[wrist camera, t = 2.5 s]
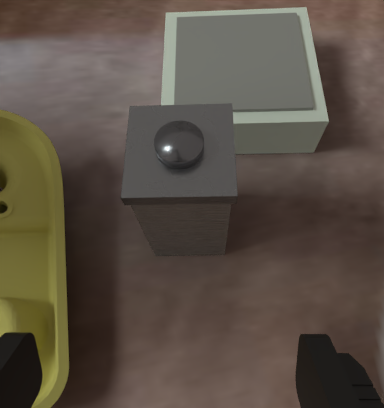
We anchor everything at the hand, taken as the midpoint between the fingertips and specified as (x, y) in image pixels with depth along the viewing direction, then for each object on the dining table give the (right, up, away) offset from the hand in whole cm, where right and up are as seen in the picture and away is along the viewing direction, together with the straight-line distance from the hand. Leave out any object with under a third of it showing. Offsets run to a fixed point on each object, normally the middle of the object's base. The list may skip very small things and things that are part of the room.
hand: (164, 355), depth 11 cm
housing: (+1, +3, +16) cm, 16 cm away
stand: (+5, +14, +21) cm, 25 cm away
